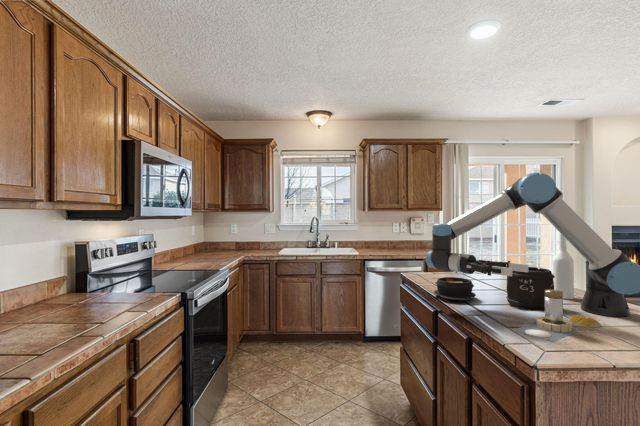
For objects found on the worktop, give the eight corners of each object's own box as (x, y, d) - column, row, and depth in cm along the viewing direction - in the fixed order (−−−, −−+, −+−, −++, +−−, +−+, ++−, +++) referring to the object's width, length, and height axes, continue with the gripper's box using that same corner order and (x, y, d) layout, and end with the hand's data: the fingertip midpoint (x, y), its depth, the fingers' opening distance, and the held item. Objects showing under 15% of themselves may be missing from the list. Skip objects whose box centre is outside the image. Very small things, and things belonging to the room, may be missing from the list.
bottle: (556, 298, 161) (555, 233, 161) (550, 295, 168) (550, 232, 169) (577, 300, 158) (576, 234, 158) (569, 296, 166) (569, 233, 166)
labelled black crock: (540, 301, 157) (540, 266, 157) (564, 312, 139) (563, 272, 139) (498, 300, 158) (498, 265, 159) (516, 311, 141) (516, 272, 141)
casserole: (432, 290, 179) (432, 274, 179) (472, 293, 173) (471, 276, 173) (434, 302, 155) (434, 283, 155) (480, 305, 149) (480, 286, 149)
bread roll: (580, 323, 125) (580, 312, 125) (606, 331, 116) (606, 319, 116) (561, 325, 123) (561, 313, 123) (586, 333, 114) (586, 321, 114)
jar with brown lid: (557, 325, 118) (556, 289, 118) (566, 329, 113) (566, 292, 113) (541, 324, 118) (541, 289, 118) (550, 329, 113) (550, 292, 113)
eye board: (541, 324, 123) (541, 314, 123) (581, 334, 113) (581, 323, 113) (511, 335, 112) (511, 324, 112) (553, 347, 102) (553, 335, 102)
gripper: (478, 269, 147) (533, 277, 131) (446, 276, 132) (504, 285, 115) (478, 252, 148) (534, 257, 131) (446, 256, 132) (504, 262, 115)
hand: (520, 270), depth 123 cm, fingers open, 13 cm apart
